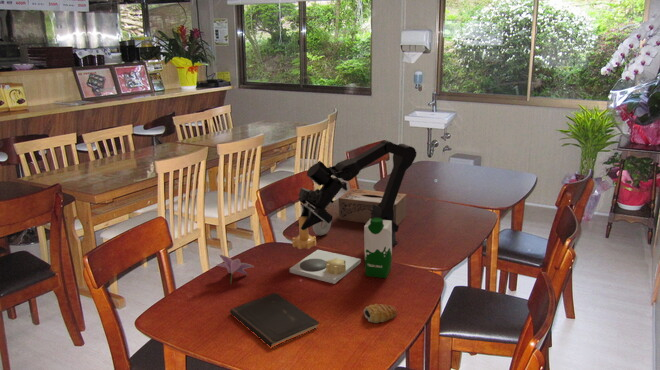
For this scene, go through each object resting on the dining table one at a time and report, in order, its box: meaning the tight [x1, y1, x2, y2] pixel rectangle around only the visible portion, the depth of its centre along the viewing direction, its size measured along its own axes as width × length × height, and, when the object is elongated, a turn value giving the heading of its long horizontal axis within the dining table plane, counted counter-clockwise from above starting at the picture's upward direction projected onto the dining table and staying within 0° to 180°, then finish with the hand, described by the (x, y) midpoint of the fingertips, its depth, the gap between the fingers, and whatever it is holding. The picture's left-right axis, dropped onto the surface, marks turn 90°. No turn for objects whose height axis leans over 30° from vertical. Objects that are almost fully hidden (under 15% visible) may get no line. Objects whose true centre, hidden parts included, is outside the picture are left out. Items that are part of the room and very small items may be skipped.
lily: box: [216, 254, 255, 285], centre depth 180 cm, size 12×12×10 cm
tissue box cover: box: [337, 188, 407, 226], centre depth 233 cm, size 26×14×10 cm, turn 65°
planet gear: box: [291, 215, 317, 250], centre depth 190 cm, size 9×9×10 cm
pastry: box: [363, 303, 398, 324], centre depth 156 cm, size 9×7×4 cm
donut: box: [312, 219, 332, 236], centre depth 216 cm, size 10×3×10 cm, turn 141°
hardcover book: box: [229, 292, 320, 347], centre depth 155 cm, size 16×23×2 cm
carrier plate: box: [289, 249, 362, 285], centre depth 187 cm, size 18×18×4 cm
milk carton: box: [363, 218, 393, 279], centre depth 180 cm, size 9×9×20 cm
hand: (300, 227), depth 189 cm, fingers closed on planet gear, 3 cm apart
